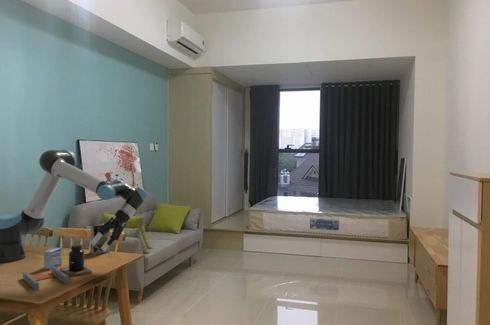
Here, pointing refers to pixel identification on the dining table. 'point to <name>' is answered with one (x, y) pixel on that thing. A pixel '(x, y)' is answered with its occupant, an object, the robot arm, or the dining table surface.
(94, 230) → the coffee box
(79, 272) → the walnut pad
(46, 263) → the medicine box
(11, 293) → the dining table surface
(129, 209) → the robot arm
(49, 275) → the pad
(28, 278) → the channel
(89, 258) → the dining table surface
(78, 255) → the supplement bottle
